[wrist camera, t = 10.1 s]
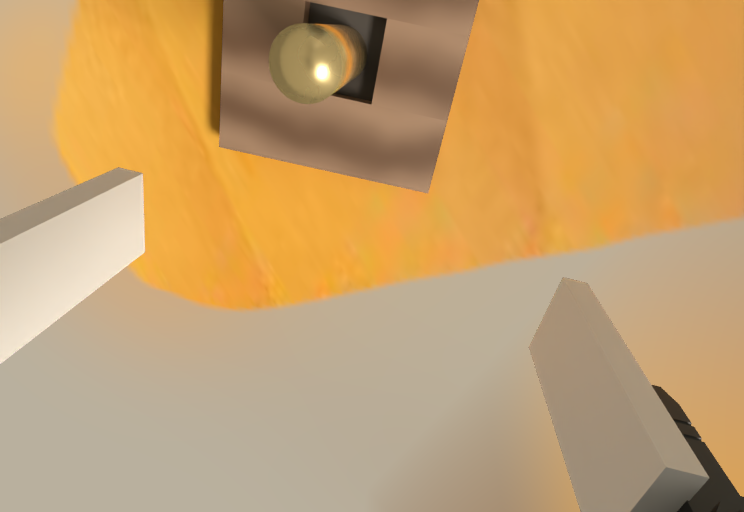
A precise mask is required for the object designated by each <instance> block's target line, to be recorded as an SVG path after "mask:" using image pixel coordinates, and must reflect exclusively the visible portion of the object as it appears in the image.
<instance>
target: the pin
mask: <svg viewBox="0 0 744 512" xmlns="http://www.w3.org/2000/svg"><path fill="white" fill-rule="evenodd" d="M366 62H367V46H366V43H365V41H364V39H363V37H362V36H361V34H360V33H359V32H358V31H357V30H355V29H354V28H352V27H350V26H347V25H335V24H307V23H300V24H294V25H291V26H289V27H287V28H285V29H284V30H282V31H281V32H280V33H279V34H278V35H277V36H276V38H275V39H274V41H273V43H272V45H271V48H270V52H269V70H270V74H271V77H272V79H273V81H274V83H275V85H276V86H277V88H278V89H279V90H280V91H281V92H282V93H283V94H284V95H285V96H286V97H287V98H289V99H291V100H292V101H295V102H298V103H301V104H315V103H318V102H321V101H323V100H325V99H326V98H328V97H329V96H330V95H332V94H333V93H335V92H336V91H337V90H339V89H340V88H342V87H343V86H344V85H346V84H347V83H349V82H350V81H351V80H353V79H354V78H356V77H357V76H358V75H359V74H360V73H361V72H362V71H363V69H364V67H365V65H366Z"/></svg>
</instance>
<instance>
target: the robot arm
mask: <svg viewBox="0 0 744 512" xmlns="http://www.w3.org/2000/svg"><path fill="white" fill-rule="evenodd" d="M144 252H145V236H144V199H143V173H139V172H135V171H131V170H127V169H123V168H119V167H118V168H116V169H114V170H111V171H109V172H107V173H104V174H102V175H100V176H98V177H95V178H93V179H91V180H88V181H86V182H84V183H82V184H79V185H77V186H75V187H72V188H70V189H68V190H66V191H63V192H61V193H59V194H57V195H54V196H52V197H50V198H47V199H45V200H43V201H40V202H38V203H36V204H33V205H31V206H29V207H27V208H24V209H22V210H20V211H18V212H15V213H13V214H11V215H8V216H6V217H4V218H1V219H0V364H1V363H2V362H3V361H5V360H6V359H7V358H9V357H10V356H11V355H12V354H14V353H15V352H16V351H18V350H19V349H20V348H21V347H23V346H24V345H25V344H27V343H28V342H29V341H31V340H32V339H33V338H34V337H36V336H37V335H38V334H40V333H41V332H42V331H44V330H45V329H46V328H47V327H49V326H50V325H51V324H52V323H54V322H55V321H56V320H58V319H59V318H60V317H61V316H63V315H64V314H65V313H67V312H68V311H69V310H71V309H72V308H73V307H75V306H76V305H77V304H78V303H80V302H81V301H82V300H83V299H85V298H86V297H87V296H89V295H90V294H91V293H92V292H94V291H95V290H96V289H98V288H99V287H100V286H101V285H103V284H104V283H105V282H107V281H108V280H109V279H111V278H112V277H113V276H115V275H116V274H117V273H118V272H120V271H121V270H122V269H123V268H125V267H126V266H127V265H129V264H130V263H131V262H133V261H134V260H135V259H137V258H138V257H139V256H140V255H142V254H143V253H144ZM529 349H530V352H531V355H532V359H533V362H534V365H535V368H536V371H537V375H538V378H539V381H540V384H541V387H542V390H543V394H544V397H545V400H546V403H547V406H548V410H549V412H550V416H551V419H552V422H553V425H554V428H555V432H556V435H557V438H558V441H559V444H560V447H561V451H562V454H563V457H564V460H565V464H566V466H567V470H568V473H569V476H570V479H571V483H572V486H573V489H574V492H575V495H576V499H577V502H578V505H579V508H580V511H581V512H744V497H742V496H740V495H739V493H738V492H737V490H736V489H735V488H734V486H733V484H732V483H731V481H730V480H729V479H728V477H727V476H726V474H725V473H724V471H723V470H722V468H721V467H720V465H719V464H718V462H717V461H716V459H715V458H714V456H713V455H712V453H711V452H710V450H709V449H708V447H707V446H706V444H705V443H704V442H701V437H700V436H699V434H698V432H697V431H696V429H695V428H694V427H693V426H691V422H690V420H689V419H688V417H687V416H686V414H685V413H684V411H683V410H682V408H681V407H680V405H679V404H678V403H677V402H676V401H675V400H674V399H672V397H670V396H669V395H668V394H667V393H666V392H665V391H664V390H663V389H662V388H661V387H658V386H654V385H651V384H650V382H649V381H648V379H647V377H646V376H645V374H644V373H643V371H642V369H641V368H640V366H639V365H638V363H637V362H636V360H635V358H634V357H633V355H632V353H631V352H630V350H629V349H628V347H627V345H626V344H625V342H624V341H623V339H622V338H621V336H620V334H619V333H618V331H617V329H616V328H615V327H614V325H613V323H612V322H611V320H610V319H609V317H608V315H607V314H606V312H605V310H604V309H603V307H602V306H601V304H600V302H599V301H598V299H597V298H596V296H595V295H594V293H593V291H592V290H591V288H590V286H589V285H588V284H587V283H585V282H580V281H577V280H572V279H568V278H564V277H563V278H562V280H561V282H560V284H559V286H558V288H557V290H556V292H555V294H554V296H553V298H552V301H551V303H550V305H549V307H548V309H547V311H546V313H545V315H544V317H543V319H542V321H541V323H540V325H539V327H538V329H537V332H536V333H535V335H534V338H533V340H532V342H531V344H530V346H529Z"/></svg>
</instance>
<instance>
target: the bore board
mask: <svg viewBox="0 0 744 512" xmlns="http://www.w3.org/2000/svg"><path fill="white" fill-rule="evenodd" d="M478 2H479V0H224V2H223V36H222V70H221V103H220V137H219V147H222V148H226V149H231V150H235V151H240V152H244V153H249V154H253V155H258V156H262V157H267V158H271V159H276V160H280V161H285V162H289V163H294V164H298V165H303V166H307V167H312V168H316V169H321V170H325V171H330V172H334V173H339V174H343V175H348V176H352V177H357V178H361V179H366V180H370V181H375V182H379V183H384V184H388V185H393V186H397V187H402V188H406V189H411V190H415V191H420V192H424V193H428V192H429V188H430V184H431V180H432V176H433V173H434V169H435V165H436V161H437V158H438V154H439V150H440V146H441V142H442V139H443V135H444V131H445V127H446V123H447V120H448V116H449V112H450V108H451V104H452V101H453V97H454V93H455V89H456V86H457V82H458V78H459V74H460V70H461V67H462V63H463V59H464V55H465V51H466V48H467V44H468V40H469V36H470V32H471V29H472V25H473V21H474V17H475V14H476V10H477V6H478ZM300 23H307V24H335V25H347V26H350V27H352V28H354V29H355V30H357V31H358V32H359V33H360V34H361V36H362V37H363V39H364V41H365V43H366V46H367V62H366V65H365V67H364V69H363V71H362V72H361V73H360V74H359V75H358V76H357V77H356V78H354V79H353V80H351V81H350V82H349V83H347V84H346V85H344V86H343V87H342V88H340V89H339V90H337V91H336V92H335V93H333V94H332V95H330V96H329V97H328V98H326V99H325V100H323V101H321V102H318V103H315V104H301V103H298V102H295V101H292V100H291V99H289V98H287V97H286V96H285V95H284V94H283V93H282V92H281V91H280V90H279V89H278V88H277V86H276V85H275V83H274V81H273V79H272V77H271V74H270V70H269V52H270V48H271V45H272V43H273V41H274V39H275V38H276V36H277V35H278V34H279V33H280V32H281V31H282V30H284V29H285V28H287V27H289V26H291V25H294V24H300Z"/></svg>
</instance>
